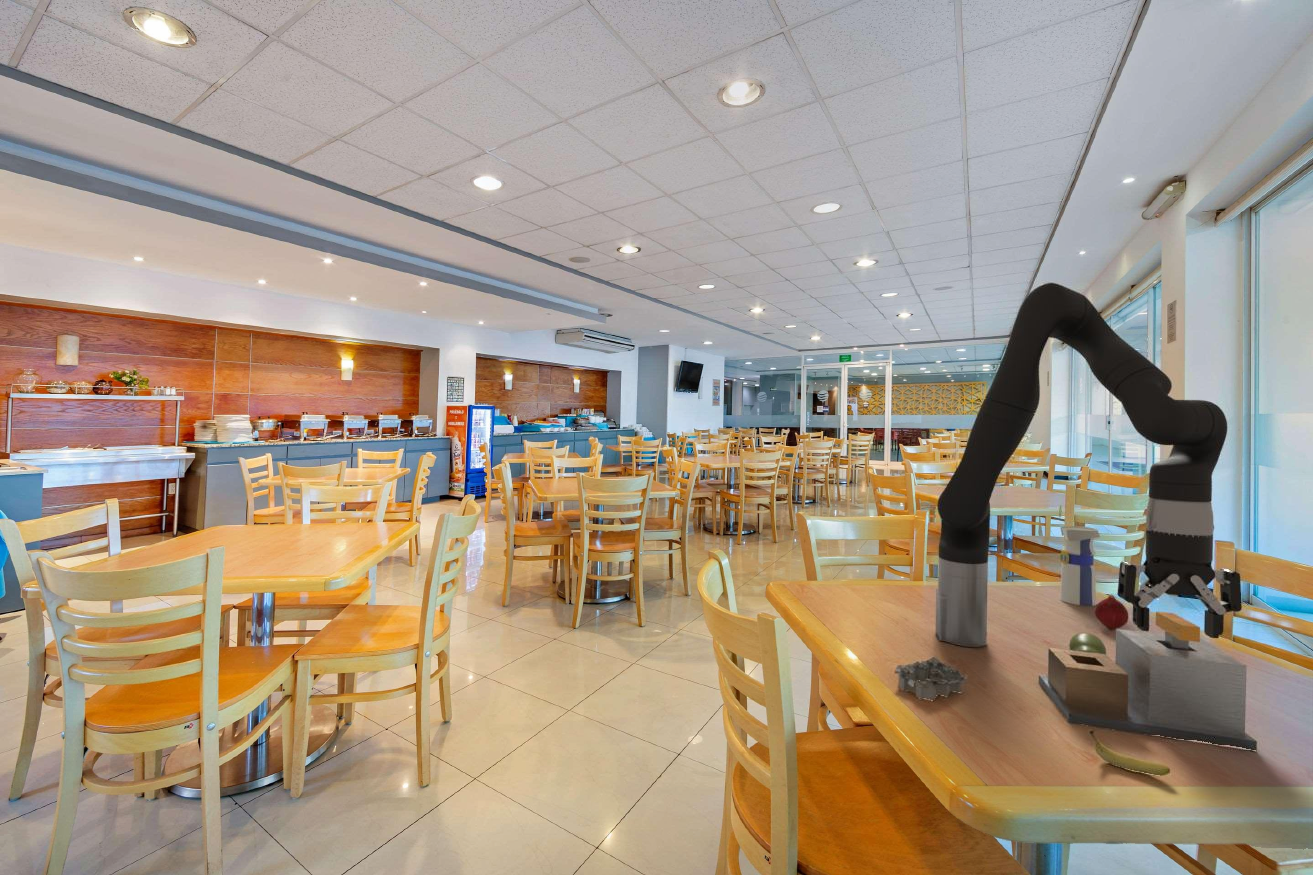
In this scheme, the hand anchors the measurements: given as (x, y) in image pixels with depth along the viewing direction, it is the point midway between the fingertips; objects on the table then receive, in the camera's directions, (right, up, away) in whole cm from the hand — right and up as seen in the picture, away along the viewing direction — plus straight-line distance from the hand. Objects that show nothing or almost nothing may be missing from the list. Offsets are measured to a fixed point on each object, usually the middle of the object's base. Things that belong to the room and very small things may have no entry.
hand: (1176, 632), depth 84 cm
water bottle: (+30, -13, +59) cm, 67 cm away
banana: (-18, -14, -12) cm, 26 cm away
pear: (+2, -13, +20) cm, 24 cm away
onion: (+22, -13, +38) cm, 46 cm away
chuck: (-5, -13, +2) cm, 14 cm away
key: (0, -6, 0) cm, 6 cm away
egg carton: (-33, -14, +10) cm, 37 cm away
